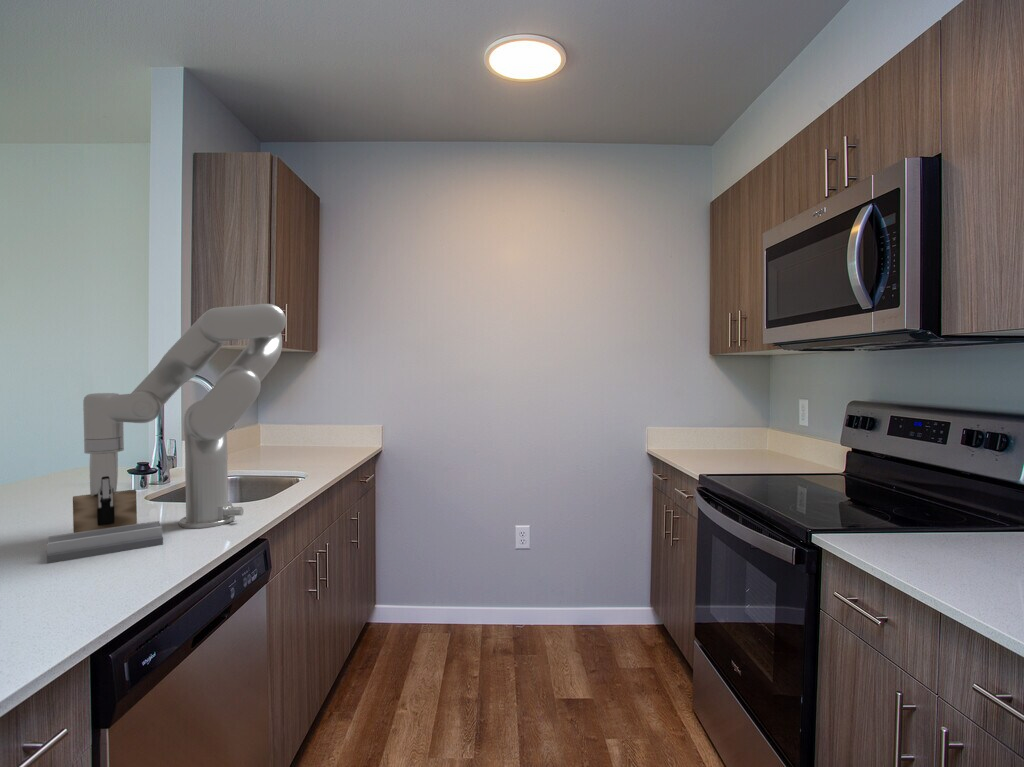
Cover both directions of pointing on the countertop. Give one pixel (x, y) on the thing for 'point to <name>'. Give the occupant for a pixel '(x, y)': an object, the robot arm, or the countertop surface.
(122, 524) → the door panel
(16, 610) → the countertop surface
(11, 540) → the countertop surface
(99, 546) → the bottom track
